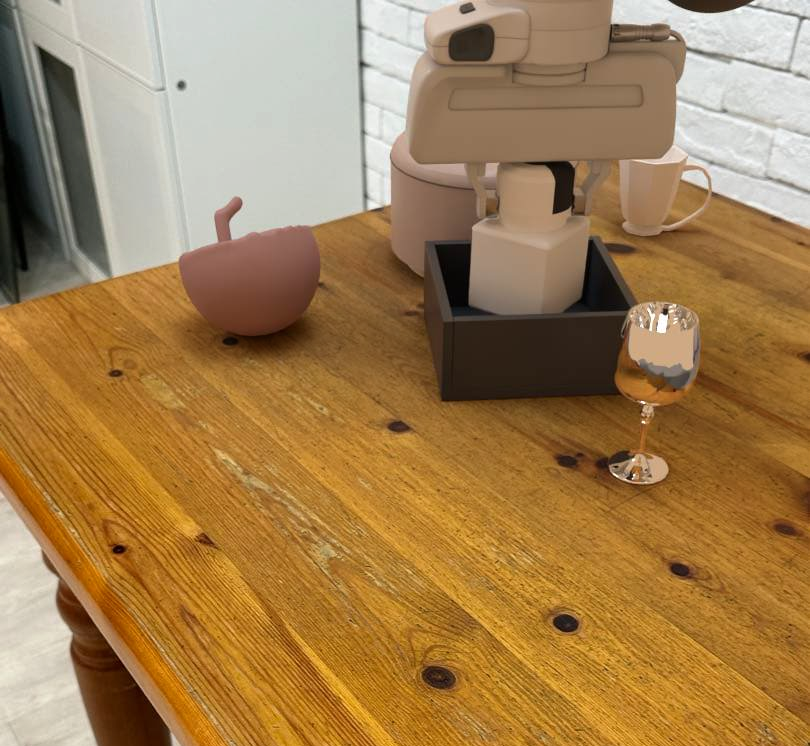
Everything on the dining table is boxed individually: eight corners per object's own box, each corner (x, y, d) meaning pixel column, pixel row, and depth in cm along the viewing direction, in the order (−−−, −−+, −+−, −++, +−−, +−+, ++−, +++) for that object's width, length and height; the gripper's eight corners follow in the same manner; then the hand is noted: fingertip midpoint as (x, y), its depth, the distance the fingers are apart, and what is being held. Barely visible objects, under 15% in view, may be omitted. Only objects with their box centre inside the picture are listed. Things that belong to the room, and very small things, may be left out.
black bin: (590, 308, 97) (599, 235, 93) (632, 393, 85) (644, 314, 81) (423, 313, 96) (424, 240, 92) (441, 401, 84) (443, 321, 80)
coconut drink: (285, 288, 100) (277, 168, 93) (347, 338, 92) (343, 211, 85) (167, 318, 95) (149, 194, 88) (223, 374, 87) (207, 242, 80)
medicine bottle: (510, 278, 92) (520, 138, 84) (582, 299, 89) (599, 156, 81) (466, 308, 87) (472, 163, 80) (541, 331, 84) (555, 182, 77)
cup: (609, 214, 115) (619, 139, 110) (702, 219, 114) (716, 144, 109) (609, 239, 110) (619, 161, 105) (706, 245, 109) (721, 167, 104)
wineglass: (625, 497, 74) (651, 344, 66) (583, 455, 78) (602, 306, 70) (693, 478, 75) (725, 327, 68) (648, 439, 80) (674, 292, 72)
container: (362, 240, 109) (359, 124, 102) (512, 213, 115) (520, 102, 108) (439, 310, 97) (442, 184, 89) (603, 275, 103) (618, 155, 95)
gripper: (678, 13, 78) (650, 197, 86) (403, 16, 76) (403, 203, 85) (704, 33, 73) (671, 226, 81) (410, 37, 71) (409, 233, 80)
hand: (532, 215), depth 83 cm, fingers closed on medicine bottle, 6 cm apart
